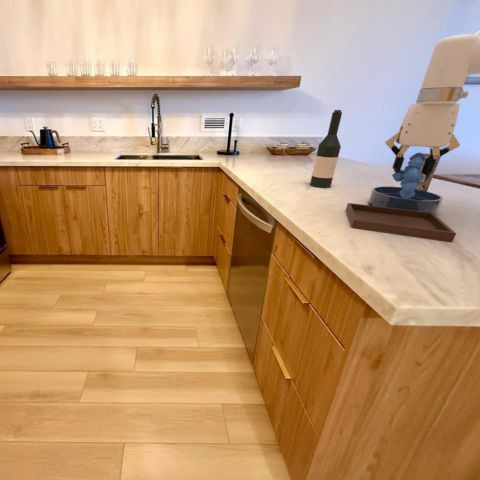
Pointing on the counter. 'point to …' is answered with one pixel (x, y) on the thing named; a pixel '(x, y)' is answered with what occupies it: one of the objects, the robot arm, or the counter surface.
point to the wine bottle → (327, 155)
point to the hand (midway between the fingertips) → (410, 172)
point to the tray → (399, 222)
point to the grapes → (410, 176)
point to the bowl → (393, 199)
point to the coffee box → (427, 176)
